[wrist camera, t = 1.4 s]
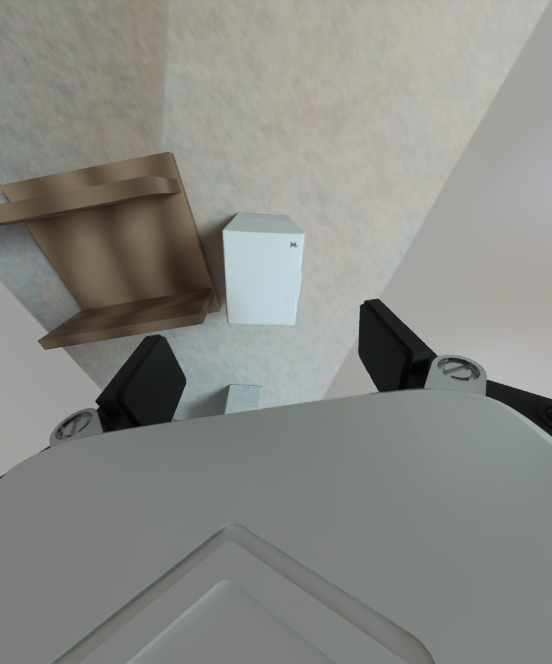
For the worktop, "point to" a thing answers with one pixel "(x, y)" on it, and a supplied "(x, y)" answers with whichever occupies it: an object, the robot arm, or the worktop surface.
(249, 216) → the small box
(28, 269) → the worktop surface
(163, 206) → the book rack
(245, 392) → the skincare box
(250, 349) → the worktop surface
